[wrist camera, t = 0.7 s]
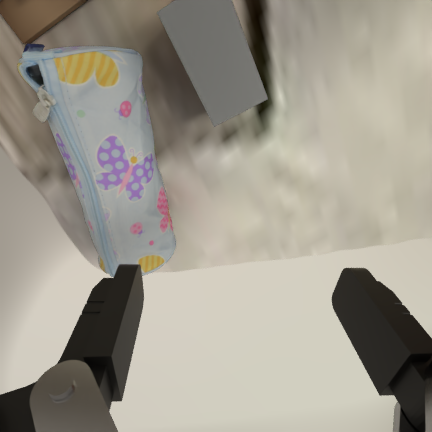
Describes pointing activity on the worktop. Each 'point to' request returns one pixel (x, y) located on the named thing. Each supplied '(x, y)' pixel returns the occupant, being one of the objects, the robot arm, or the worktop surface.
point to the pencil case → (105, 148)
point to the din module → (214, 55)
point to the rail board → (35, 15)
